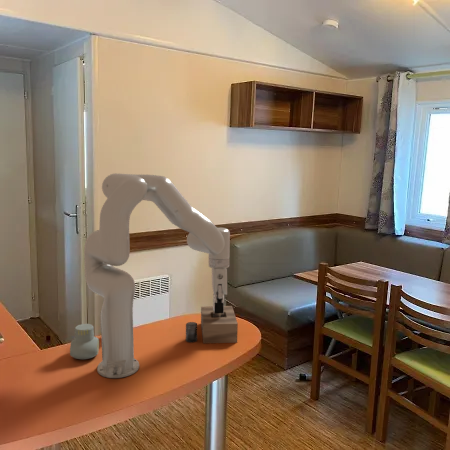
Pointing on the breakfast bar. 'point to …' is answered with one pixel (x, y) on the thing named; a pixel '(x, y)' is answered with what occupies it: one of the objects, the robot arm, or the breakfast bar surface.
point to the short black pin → (191, 332)
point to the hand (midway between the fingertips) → (218, 310)
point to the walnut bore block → (218, 326)
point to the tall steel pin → (214, 308)
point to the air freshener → (84, 342)
